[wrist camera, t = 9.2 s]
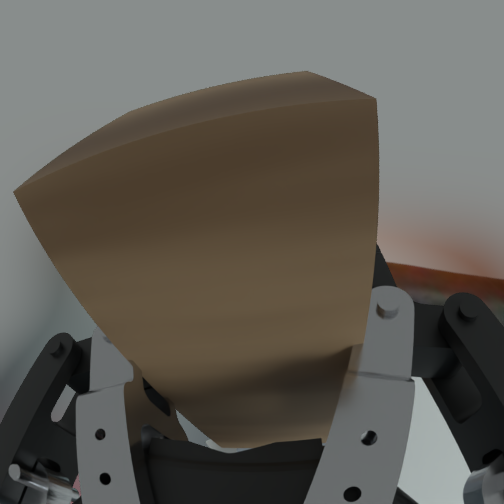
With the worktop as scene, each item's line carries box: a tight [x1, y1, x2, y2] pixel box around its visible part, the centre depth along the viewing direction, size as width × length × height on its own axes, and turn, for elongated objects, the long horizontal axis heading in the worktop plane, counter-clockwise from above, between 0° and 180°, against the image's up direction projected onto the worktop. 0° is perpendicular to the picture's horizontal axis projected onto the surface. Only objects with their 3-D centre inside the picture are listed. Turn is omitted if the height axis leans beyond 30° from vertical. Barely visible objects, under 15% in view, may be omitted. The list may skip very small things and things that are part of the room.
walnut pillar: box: [13, 71, 379, 448], centre depth 8 cm, size 5×5×12 cm
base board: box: [205, 377, 471, 504], centre depth 16 cm, size 22×24×4 cm
